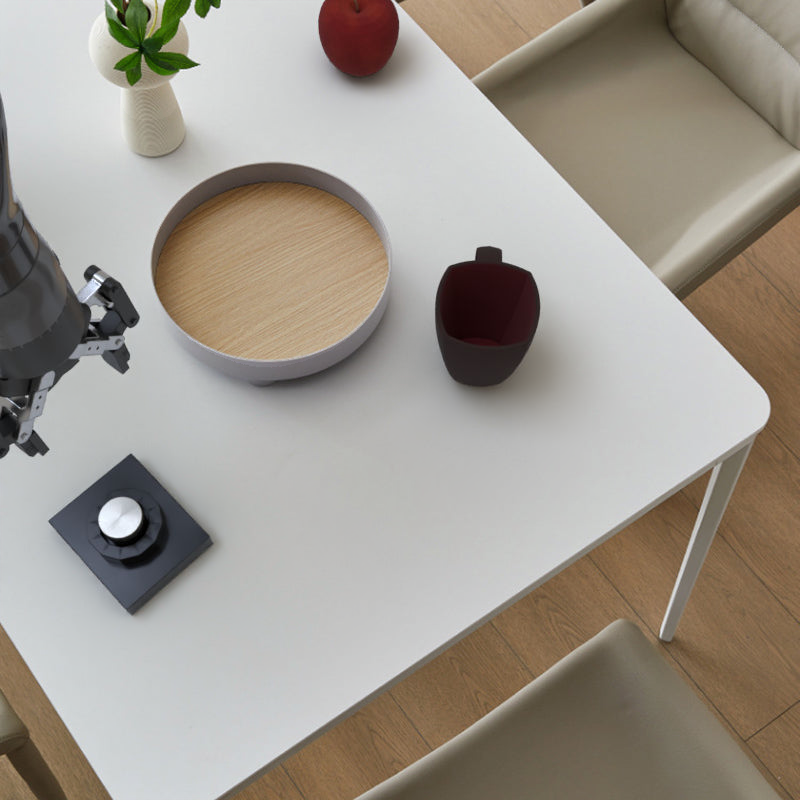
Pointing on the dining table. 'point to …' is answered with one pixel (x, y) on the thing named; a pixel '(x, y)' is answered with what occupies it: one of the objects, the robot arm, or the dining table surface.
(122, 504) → the button
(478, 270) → the cup
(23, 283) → the robot arm
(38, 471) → the dining table surface
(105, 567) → the control block
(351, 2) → the apple
